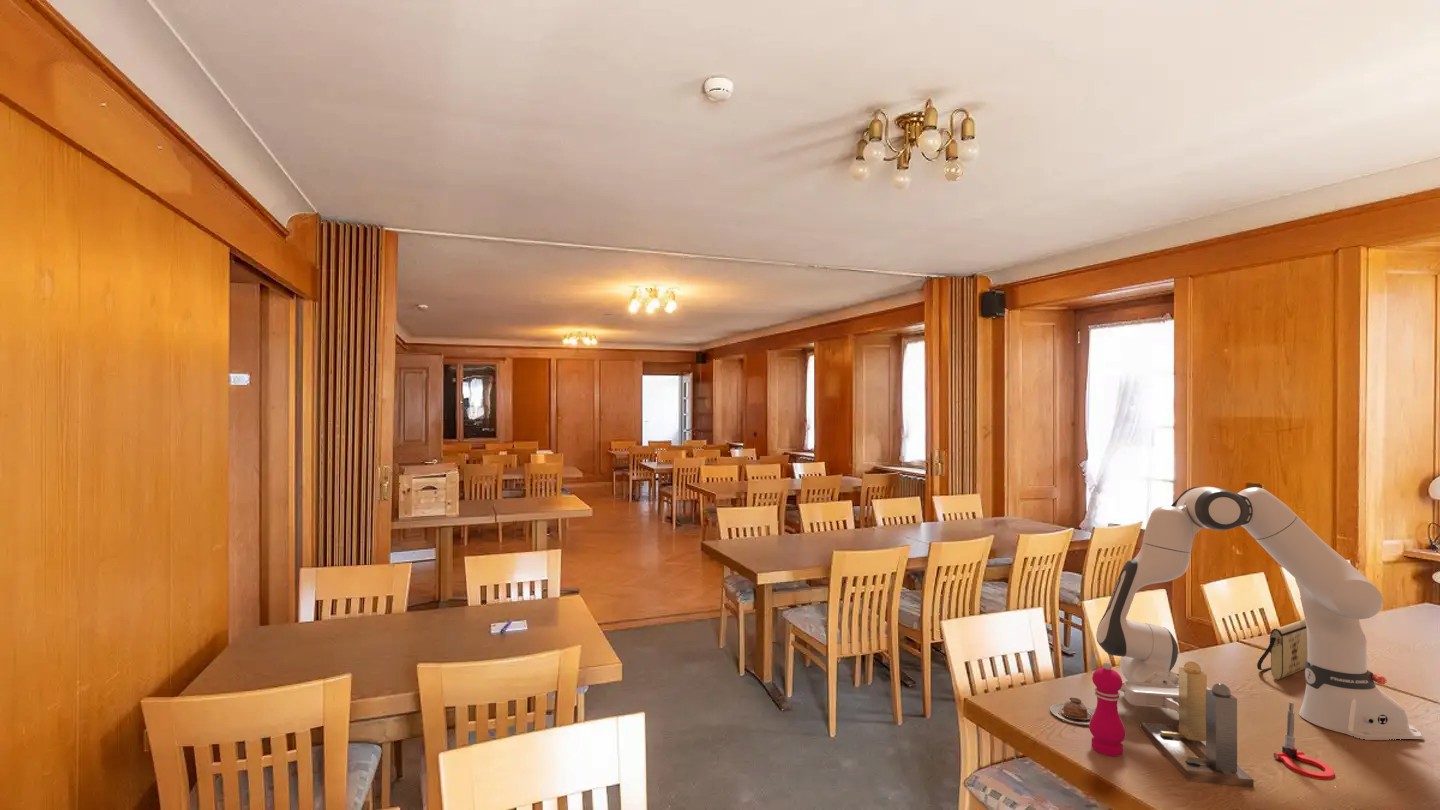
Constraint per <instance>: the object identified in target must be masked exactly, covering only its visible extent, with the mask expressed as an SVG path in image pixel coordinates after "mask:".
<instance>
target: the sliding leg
mask: <svg viewBox="0 0 1440 810" xmlns="http://www.w3.org/2000/svg"><path fill="white" fill-rule="evenodd" d="M1178 674H1179V713H1178V725H1179V732H1168V731H1161V734H1162V735H1163V736H1175V737H1185V738H1186V739H1187V740H1199V741H1206V690H1207V687H1208V685H1207V684H1208V683H1207V682H1208V681H1207V680H1208V679H1207V678H1208V675H1207V674H1206V673H1204V672H1203V671H1202V668H1201V666H1200V665H1199V663H1197V662H1196V661H1193V660H1191V661H1190V660H1189V661H1187V662H1185V664H1184V667H1178Z"/></svg>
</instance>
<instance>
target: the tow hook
mask: <svg viewBox="0 0 1440 810" xmlns="http://www.w3.org/2000/svg"><path fill="white" fill-rule="evenodd" d="M1294 707H1295V705H1294V702H1292V701H1289V702H1288V710H1287V716H1286V718H1287V720H1286V734H1285V736H1284V745H1282V746H1281V747H1282V749H1281V751H1282V752H1274V753H1273V758H1274V759H1275V760H1276V761H1282V762H1283V764H1284V765H1285V766H1286V767H1287V768H1288V769H1290V770H1292V771H1293V772H1295V773H1298V774H1301V775H1302V776H1306V777H1310V778H1314V779H1319V780H1332V779H1334V778H1333V777H1335V771H1334V769H1333V768H1332V767H1331V766H1329V764H1327V763H1325V762H1323V761H1321V760H1318V759H1316V758H1313V757H1309V756H1308V755H1306V754H1305V753H1304V752H1303V751H1301V750H1300V751H1299V750H1298V749H1297V748H1295V744H1296V743H1295V742H1296V741H1295V740H1296V738H1295V735H1294V734H1295V733H1294V732H1295V711H1294ZM1293 760H1298V761H1300V762H1303V763H1304V762H1305V763H1308V764H1311V765H1314V766H1316V767H1318V768H1320V769H1321V770H1322V771H1312V770H1309V769H1305V768H1303V767H1300V766H1298V764H1296V763H1294V761H1293ZM1331 778H1332V779H1331Z"/></svg>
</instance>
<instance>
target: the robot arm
mask: <svg viewBox="0 0 1440 810" xmlns="http://www.w3.org/2000/svg"><path fill="white" fill-rule="evenodd" d="M1237 527H1242V528H1243V529H1245V530H1246V531H1247V532H1248V534H1249V535H1250V536H1251V537H1252V538H1253V539H1254V541H1256V542H1257V543H1258V544H1259V545H1260V546H1261V547H1262V548H1263V549H1264V550H1265V552H1266V553H1268V554H1269V556H1271V558H1272V559H1274V561H1275V562H1276V563H1277V564H1278V565H1280V566H1281V568H1283V569H1284V570H1286V572H1288V573H1289V575H1292V577H1293V578H1294V581H1295V583H1296V586H1297V588H1298V590H1299V591H1298V592H1299V597H1300V601H1301V602H1300V603H1301V607H1302V611H1303V616H1304V619H1305V621H1306V627H1307V659H1306V660H1305V669H1304V676H1305V677H1304V678H1305V683H1306V684H1305V690H1304V696H1303V700H1302V704H1301V706H1300V709H1299V711H1298V714H1299V716H1300V717H1301V718H1302V719H1304V720H1306V721H1307V722H1309V723H1311V724H1313V725H1315V726H1318V727H1320V728H1323V729H1326V730H1330V731H1334V732H1337V733H1341V734H1344V735H1345V734H1346V735H1348V736H1349V737H1350V736H1351V737H1353V736H1354V738H1357V739H1359V738H1360V739H1359V740H1363V739H1365V740H1364V741H1375V740H1376V741H1397V740H1396V739H1400V740H1399V741H1402V740H1401V739H1422V740H1423V735H1422V733H1421V731H1420V730H1418V729H1417V728H1416V727H1414V726H1413V725H1412V724H1410V723H1409V720H1408V719H1409V718H1408V715H1407V712H1406V710H1405V709H1404V707H1403V706H1402V705H1401V704H1400V703H1399V702H1398V701H1395V700H1394V699H1393V697H1390V696H1389V695H1387V694H1386V693H1385V692H1384V691H1382V690H1381V689H1380V688H1378V687H1377V686H1376V683H1378V684H1379V685H1383V686H1384V685H1386V684H1387V681H1388V680H1387V678H1386V677H1385V676H1383V675H1380V674H1378V673H1373V672H1372V671H1370V670H1368V662H1367V661H1368V660H1367V659H1368V658H1367V657H1368V653H1367V652H1368V651H1367V649H1368V647H1367V646H1368V645H1367V644H1368V641H1367V638H1366V635H1365V633H1364V631H1363V628H1362V626H1361V622H1360V620H1366V619H1370V618H1372V617H1374V616H1375V617H1376V615H1378V614H1379V612H1380V611H1381V610H1382V608H1383V605H1384V599H1383V598H1384V597H1383V595H1382V593H1381V591H1380V590H1379V589H1378V588H1377V586H1376V585H1374V583H1372V582H1371V581H1370V580H1369V579H1368V578H1367V577H1366V576H1365V575H1364V574H1363V573H1361V572H1360V571H1359V570H1358V569H1357V568H1356V567H1355V566H1353V564H1351V563H1350V562H1349V561H1348V560H1347V559H1345V558H1344V557H1343V556H1342V555H1340V553H1338V552H1337V551H1336V550H1335V549H1333V548H1332V547H1331V546H1330V545H1329V544H1328V543H1326V542H1325V541H1324V540H1323V539H1322V538H1321V537H1320V536H1319V535H1317V534H1316V532H1314V531H1313V529H1311V528H1310V527H1309V526H1308V524H1306V522H1305V521H1304V520H1302V518H1301V517H1299V516H1298V515H1297V514H1296V513H1295V512H1294V511H1293V510H1292V509H1291V508H1290V507H1289V506H1288V505H1287V504H1286V503H1284V502H1283V501H1282V500H1281V499H1279V498H1278V497H1277V496H1275V495H1274V494H1273V493H1271V492H1270V491H1268V490H1267V489H1264V488H1261V487H1258V486H1257V487H1255V486H1253V487H1247V488H1245V489H1243V490H1240V491H1239V492H1237V493H1236V492H1234V491H1232V490H1231V491H1230V490H1229V489H1225V488H1219V487H1214V486H1194V487H1190V488H1188V489H1186V490H1185V491H1183V492H1182V493H1180V495H1179V496H1178V497H1177V499H1175V501H1174V502H1173V503H1172V504H1171V505H1161V506H1158V507H1156V508H1154V509H1153V510H1152V511H1151V513H1150V515H1149V518H1148V521H1147V523H1146V527H1145V529H1144V533H1143V538H1142V544H1141V548H1140V550H1139V552H1138V553H1137V555H1136V556H1135V557H1134V558H1132V559H1130V560H1127V561H1126V562H1125V563H1124V565H1123V567H1122V569H1121V571H1120V572H1119V576H1118V578H1117V581H1116V583H1115V585H1114V588H1113V591H1112V594H1111V597H1110V599H1109V601H1108V605H1107V607H1106V610H1105V612H1104V614H1103V615H1102V618H1101V619H1100V621H1099V623H1098V626H1097V629H1096V635H1095V636H1096V637H1095V638H1096V641H1097V644H1098V646H1100V647H1101V649H1102V650H1103V651H1104V652H1105V653H1106V654H1108V655H1109V656H1115V657H1121V658H1120V660H1119V667H1120V670H1121V673H1122V675H1123V676H1124V678H1125V680H1127V681H1125V682H1122V688H1121V689H1120V690H1119V691H1121V692H1122V693H1123V695H1124V698H1125V699H1126V701H1127V702H1128V703H1129V704H1130V705H1132V706H1135V707H1147V708H1148V707H1149V708H1160V709H1170V710H1173V711H1175V712H1177V713H1178V714H1179V673H1176V672H1173V671H1172V670H1173V668H1174V667H1175V665H1176V663H1177V661H1178V660H1177V659H1178V657H1179V656H1178V655H1179V646H1178V643H1177V641H1176V639H1175V636H1174V635H1173V633H1171V631H1170V630H1169V629H1168V628H1167V627H1164V626H1160V625H1155V624H1151V623H1144V622H1140V621H1135V620H1130V619H1127V617H1128V615H1129V612H1130V608H1131V605H1132V604H1133V601H1134V598H1135V596H1136V594H1137V592H1138V591H1139V590H1140V589H1142V588H1143V587H1146V586H1148V585H1153V584H1160V583H1166V582H1171V581H1173V580H1176V579H1179V578H1180V577H1182V576H1183V575H1184V574H1185V573H1186V572H1187V570H1188V569H1189V566H1190V562H1191V557H1192V549H1193V541H1194V539H1195V536H1196V535H1197V533H1198V532H1200V530H1203V529H1207V530H1214V531H1228V530H1232V529H1235V528H1237ZM1207 690H1212V688H1209V687H1208V686H1207ZM1389 739H1390V740H1389ZM1391 739H1393V740H1391ZM1394 739H1395V740H1394Z"/></svg>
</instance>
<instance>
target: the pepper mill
mask: <svg viewBox="0 0 1440 810" xmlns="http://www.w3.org/2000/svg"><path fill="white" fill-rule="evenodd" d="M1091 679H1092V683H1093V684H1094V685H1095V688H1094V691H1095V692H1094V695H1095V696H1096V700H1097V701H1096V707H1095V709H1094V710H1095V712H1094V714H1093V716H1091V717H1090V721H1089V723H1090V725H1088V726H1089V732H1090V734H1091V736H1093V737H1092V738H1091V747H1092V749H1093V750H1094V751H1096V752H1098V753H1099V754H1102V755H1105V756H1110V757H1120V756H1122V755H1123V754H1124V744H1123V743H1122V742H1123V741H1124V740H1125V738H1126V728H1125V725H1124V724H1123V721H1122V718H1121V717H1120V715H1119V710H1118V701H1119V700H1121V697H1120V694H1121V693H1120V691H1121V690H1120V689H1121V688H1122V683H1123V679H1122V676H1121V675H1120V673H1118V672H1117V671H1116V670H1114V669H1112V664H1111V663H1110V662H1108V661H1104V662H1103V663H1102V667H1099V668H1097V669H1095V670H1094V672H1093V673H1092V677H1091Z"/></svg>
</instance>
